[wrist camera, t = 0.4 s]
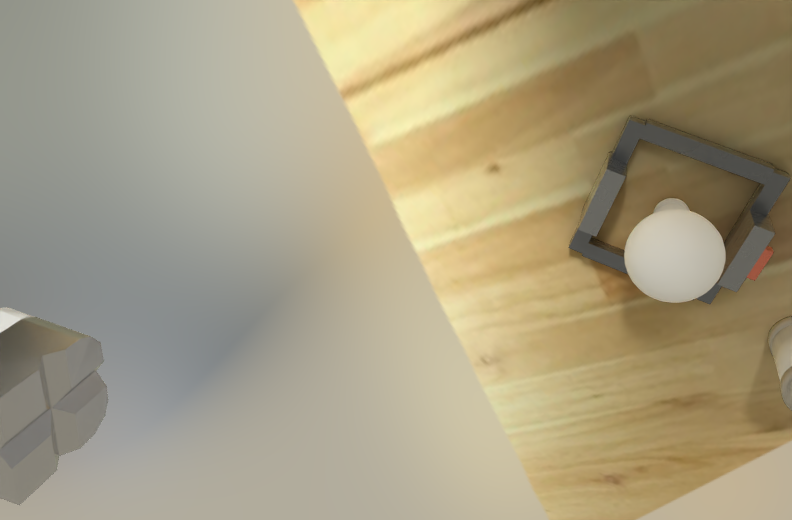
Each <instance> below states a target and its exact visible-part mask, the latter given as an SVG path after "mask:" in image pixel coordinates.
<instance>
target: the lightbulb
mask: <svg viewBox="0 0 792 520" xmlns="http://www.w3.org/2000/svg"><path fill="white" fill-rule="evenodd" d="M624 260H625V266H626V269H627V272H628V275H629V276H630V278H631V280H632V282H633V283H634V284H635V285H636V286H637V287H638V288H639V289H640V290H641V291H642V292H643V293H645V294H646V295H648V296H650V297H652V298H654V299H656V300H660V301H663V302H670V303H680V302H686V301H690V300H693V299H696V298H698V297H700V296H702V295H704V294H705V293H706V292H708V291H709V290H710V289H711V288H712V287H713V286H714V285H715V283H716V282H717V281H718V280H719V278H720V276H721V274H722V272H723V269H724V264H725V260H726V251H725V247H724V243H723V239H722V237H721V235H720V233H719V232H718V230H717V229H716V228H715V227H714V226H713V224H712V223H711V222H709V221H708V220H707V219H706V218H704V217H703V216H701V215H699V214H697V213H695V212H691V211H690V210H689V208H688V206H687V205H686V203H685V202H683V201H682V200H680V199H677V198H668V199H664V200H662V201H661V202H659V203H658V204H657V205H656V207H655V209H654V212H653V214H651V215H649V216H647V217H646V218H644V219H643V220H642V221H641V222H640V223H638V224H637V225H636V227H635V228H634V229H633V231H632V232H631V234H630V235H629V237H628V240H627V242H626V246H625V252H624Z"/></svg>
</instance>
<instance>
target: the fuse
mask: <svg viewBox="0 0 792 520" xmlns="http://www.w3.org/2000/svg"><path fill="white" fill-rule="evenodd" d="M768 343H769V347H770V351H771V354H772V356H773V357H774V361H775V364H776V368H777V372H778V376H779V380H780V390H781V393H782V397H783V401H784V403H785V404H786V406H787V407H788V408H789V409H790V410H791V411H792V316H790V317H786V318H784V319H782V320H780V321H779V322H777V323H776V324H775V325H774V326H773V327H772V328H771V330H770V332H769V335H768Z"/></svg>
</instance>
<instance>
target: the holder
mask: <svg viewBox="0 0 792 520" xmlns="http://www.w3.org/2000/svg"><path fill="white" fill-rule="evenodd" d="M639 139H642V140H645V141H647V142H650V143H653V144H655V145H658V146H661V147H664V148H666V149H669V150H672V151H674V152H677V153H680V154H683V155H685V156H688V157H691V158H693V159H696V160H699V161H701V162H704V163H707V164H710V165H712V166H715V167H718V168H720V169H723V170H726V171H729V172H731V173H734V174H737V175H739V176H742V177H745V178H748V179H750V180H753V181H756V182H758V183H760V184H759V186H758V188H757V189H756V191H755V193H754V194H753V196H752V197H751V199H750V201H749V202H748V204H747V206H746V207H745V209H744V210H743V212H742V214H741V215H740V217H739V219H738V220H737V222H736V223H735V225H734V227H733V228H732V230H731V232H730V233H729V235H728V236H727V238H726V240H725V241H724V247H725V251H726V260H725V264H724V269H723V272H722V274H721V276H720V278H719V280H718V281H717V282H716V283H715V285H714V286H713V287H712V288H711V289H710V290H709V291H708V292H706V293H705V294H704V295H702V296H700V297H698V298H696V299H698V300H700V301H703V302H705V303H708V304H711V302H712V301H713V299H714V298H715V296H716V295H717V293H718V291H719V290H720V288H721V287H725V288H727V289H730V290H732V291H735V292H737V291H738V289H739V288H740V286H741V285H742V283H743V282H744V280H745V279H746V278H749V279H752V280H754V281H755V280H756V278H757V277H758V275H759V274H760V272H761V271H762V269H763V268H764V266H765V265H766V263H767V262H768V260H769V259H770V257H771V256H772V254H773V253H774V252H773V249H772V247H769V246H767V245H768V244H769V242H770V241H771V239H772V238H773V236H774V235H775V231H774V228H773V225H772V223H771V220H770V217H769V214H768V213H769V212H770V210H771V208H772V207H773V205H774V204H775V202H776V201H777V199H778V197H779V196H780V194H781V193H782V191H783V190H784V188H785V187H786V185H787V183H788V182H789V180H790V177H789V175H788V173H787V172H784V171H781V170H779V169H776V168H774V167H773V165H772V164H771V163H768V162H765V161H762V160H760V159H757V158H754V157H751V156H749V155H746V154H743V153H740V152H738V151H735V150H732V149H730V148H727V147H724V146H721V145H719V144H716V143H713V142H710V141H708V140H705V139H702V138H699V137H697V136H694V135H691V134H688V133H686V132H683V131H680V130H677V129H675V128H672V127H669V126H666V125H664V124H661V123H658V122H655V121H653V120H650V119H647V120H646V121H644V120H642V119H639V118H636V117H633V116H631V115H630V116H629V118H628V120H627V122H626V125H625V127H624V129H623V131H622V133H621V135H620V137H619V139H618V141H617V144H616V146H615V148H614V150H613V152H609V154H608V156H607V158H606V160H605V163H604V165H603V167H602V169H601V171H600V173H599V175H598V177H597V180H596V182H595V184H594V186H593V188H592V190H591V192H590V195H589V197H588V199H587V201H586V203H585V205H584V207H583V210H582V214H581V219H580V222H579V224H578V226H577V228H576V230H575V232H574V235H573V237H572V239H571V241H570V244H569V248H570V249H573V250H575V251H578V252H580V253H583V254H582V256H584V257H586V258H589V259H591V260H594V261H596V262H599V263H601V264H604V265H606V266H609V267H611V268H614V269H616V270H619V271H621V272H624V273H626V274H628V272H627V269H626V266H625V260H624V252H625V251H624V250H621V249H619V248H616V247H614V246H611V245H609V244H606V243H604V242H601V241H599V240H596V239H594V238H591V237H592V235H593V236H597V234H598V232H599V230H600V228H601V226H602V224H603V222H604V220H605V218H606V216H607V214H608V212H609V210H610V208H611V206H612V204H613V202H614V200H615V198H616V196H617V194H618V192H619V190H620V188H621V186H622V184H623V182H624V180H625V178H626V171H627V163H628V161H629V159H630V157H631V155H632V153H633V151H634V149H635V147H636V145H637V143H638V141H639ZM693 300H694V299H693Z"/></svg>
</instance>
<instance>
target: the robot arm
mask: <svg viewBox="0 0 792 520" xmlns="http://www.w3.org/2000/svg"><path fill="white" fill-rule="evenodd" d="M103 362H104V360H103V354H102V349H101V343H100V342H99V341H97V340H96V339H94V338H92V337H91V336H88V335H85V334H82V333H79V332H77V331H74V330H71V329H68V328H66V327H63V326H60V325H57V324H54V323H51V322H49V321H46V320H43V319H40V318H38V317H33V316H30V315H27V314H24V313H22V312H19V311H16V310H13V309H10V308H0V498H1V499H4V500H7V501H9V502H12V503H15V504H18V505H20V504H21V503H23V502H24V501H25V500H26V499H27V497H29V496H30V495H31V494H32V493H33V492H34V491H35V490H36V489H38V488H39V487H40V486H41V485H42V484H43V483H44V482H45V481H46V480H47V479H48V478H49V477H50V476H51V475H52V474H54V472H56V470H57V465H58V460H59V456H60V455H63V454H66V453H69V452H72V451H74V450H77V449H80V448H81V447H82V446H83V445H84V444H85V443H86V442H87V441H88V440H89V439H90V438H91V437H92V436H93V435H94V434H95V433H96V431H97V429H98V427H99V425H100V424H101V422H102V420H103V418H104V416H105V413H106V408H107V403H108V394H107V386H106V384H105V383H104V381H103V380H102V379H101V377H100V375H99V374H98V373H97V371H96V370H97V369H98V368H99V367H100V365H101V364H102V363H103Z"/></svg>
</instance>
